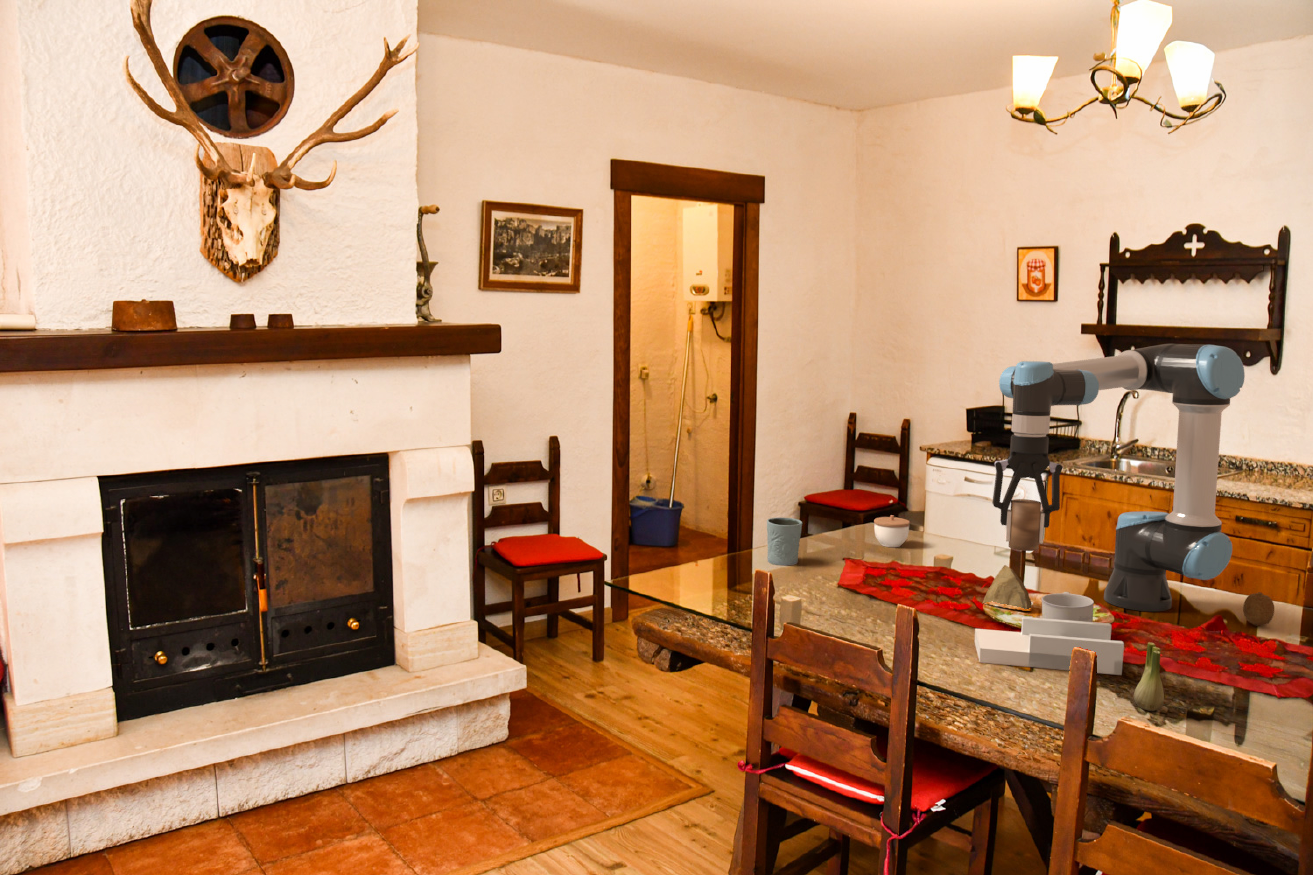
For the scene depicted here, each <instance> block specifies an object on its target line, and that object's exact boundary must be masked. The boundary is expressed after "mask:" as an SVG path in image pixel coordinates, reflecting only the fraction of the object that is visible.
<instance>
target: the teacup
mask: <svg viewBox="0 0 1313 875" xmlns="http://www.w3.org/2000/svg"><path fill="white" fill-rule="evenodd" d="M1094 604H1095V602H1094V600H1093V599H1092V598H1090V597H1088V596H1086V595H1085V596H1084V595H1083V594H1082V595H1081V594H1076V593H1070V592H1069V591H1063V592H1062V593H1061V592H1059V593H1058V592H1055V593H1049V594H1045V595H1043V596H1042V597H1041V613H1042V616H1041V618H1045V619H1058V620H1070V621H1083V622H1094V621H1093V620H1094Z"/></svg>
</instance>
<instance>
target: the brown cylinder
mask: <svg viewBox="0 0 1313 875" xmlns="http://www.w3.org/2000/svg"><path fill="white" fill-rule="evenodd" d="M1010 510H1011V528H1010V542H1008V548H1010V549H1012V550H1016V551H1022V552H1023V551H1024V552H1034V551H1038V550H1039V544H1040V543H1039V529H1040V513H1041V511H1042V504H1041V501H1038V500H1034V499H1026V498H1025V499H1023V498H1019V499H1018V498H1015V499H1012V500H1011V503H1010Z"/></svg>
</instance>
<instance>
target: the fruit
mask: <svg viewBox="0 0 1313 875" xmlns="http://www.w3.org/2000/svg"><path fill="white" fill-rule="evenodd" d="M1242 610H1243V611H1242V612H1243V615H1244V617H1245V619H1246V621H1248V623H1250V624H1252V625H1253V626H1254V627H1262V626H1265V625H1267V624H1269V623H1270V622H1271V621H1272V619H1273V617H1274V614H1275V605H1274V602H1273V600H1272V598H1271V596H1268V595H1265V594H1264V593H1262V592H1260V591H1259V592H1257V593H1251V594H1249V595H1248V596H1247V597H1246V598H1245V600H1244V602H1243V607H1242Z"/></svg>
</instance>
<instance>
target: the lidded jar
mask: <svg viewBox="0 0 1313 875" xmlns="http://www.w3.org/2000/svg"><path fill="white" fill-rule="evenodd" d="M910 523H911V522H910V520H908V519H905V518H901V517H896V516H895V515H892V514H890V516H880V517H876V518H875V519H874V520H873V524H874V527H873V528H874V536H875V538H876V541H878V542H879V543H880V546H882V547H886V548H900V547H902V545H903V544H904V543H905V542H906V541H907V539H908V537H909V531H910Z"/></svg>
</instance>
